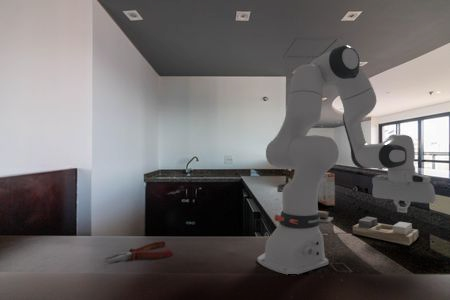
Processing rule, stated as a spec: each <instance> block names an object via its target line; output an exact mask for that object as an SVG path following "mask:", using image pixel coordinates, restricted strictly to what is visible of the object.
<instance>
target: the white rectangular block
mask: <svg viewBox="0 0 450 300" xmlns="http://www.w3.org/2000/svg"><path fill="white" fill-rule="evenodd" d="M412 225H413V223H410V222H405V221H398V222H397V223H394V225H393V232H394V233H399V234H405V235H406V236H407V235H408V234H410V233H411V232H412V229H413V226H412Z"/></svg>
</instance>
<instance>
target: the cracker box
mask: <svg viewBox="0 0 450 300" xmlns="http://www.w3.org/2000/svg"><path fill="white" fill-rule="evenodd" d="M335 184H336V183H335V173H332V172H328V171H327V172H326V173H325V175H324V176H323V178H322V180H321V182H320V185H319V189H318V203H320V204H322V205H325V206H328V207H329V206H334V207H335V205H336V195H335V194H336V191H335V189H336V187H335V186H336V185H335Z"/></svg>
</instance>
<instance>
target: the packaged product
mask: <svg viewBox="0 0 450 300" xmlns="http://www.w3.org/2000/svg"><path fill="white" fill-rule="evenodd" d="M318 213H319V217H320V220H319V223H326V224H330V223H331V222H332V221H333V220H334V217H333V216H332V217H331V216H329V214H330V212H329V211H323V210H318Z"/></svg>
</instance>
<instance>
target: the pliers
mask: <svg viewBox="0 0 450 300" xmlns="http://www.w3.org/2000/svg"><path fill="white" fill-rule="evenodd" d="M165 247H166V242H165V241H154V242H151V243H148V244H145V245H143V246H139V247H138V248H130V249H129V250H128V252H126V251H125V252H120V253H118V254H114V255H111V256H108V257H105V260H106V261H105V263H107V262H108V263H111V262H121V261H127V260H131V261H135V260H136V259H138V260H141V259H145V260H151V259H153V260H154V259H155V260H156V259H164V258H168V257H172V256H174V251H173V249H170V248H169V249H164V250H159V251H151V250H153V249H154V250H155V249H159V248H165Z"/></svg>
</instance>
